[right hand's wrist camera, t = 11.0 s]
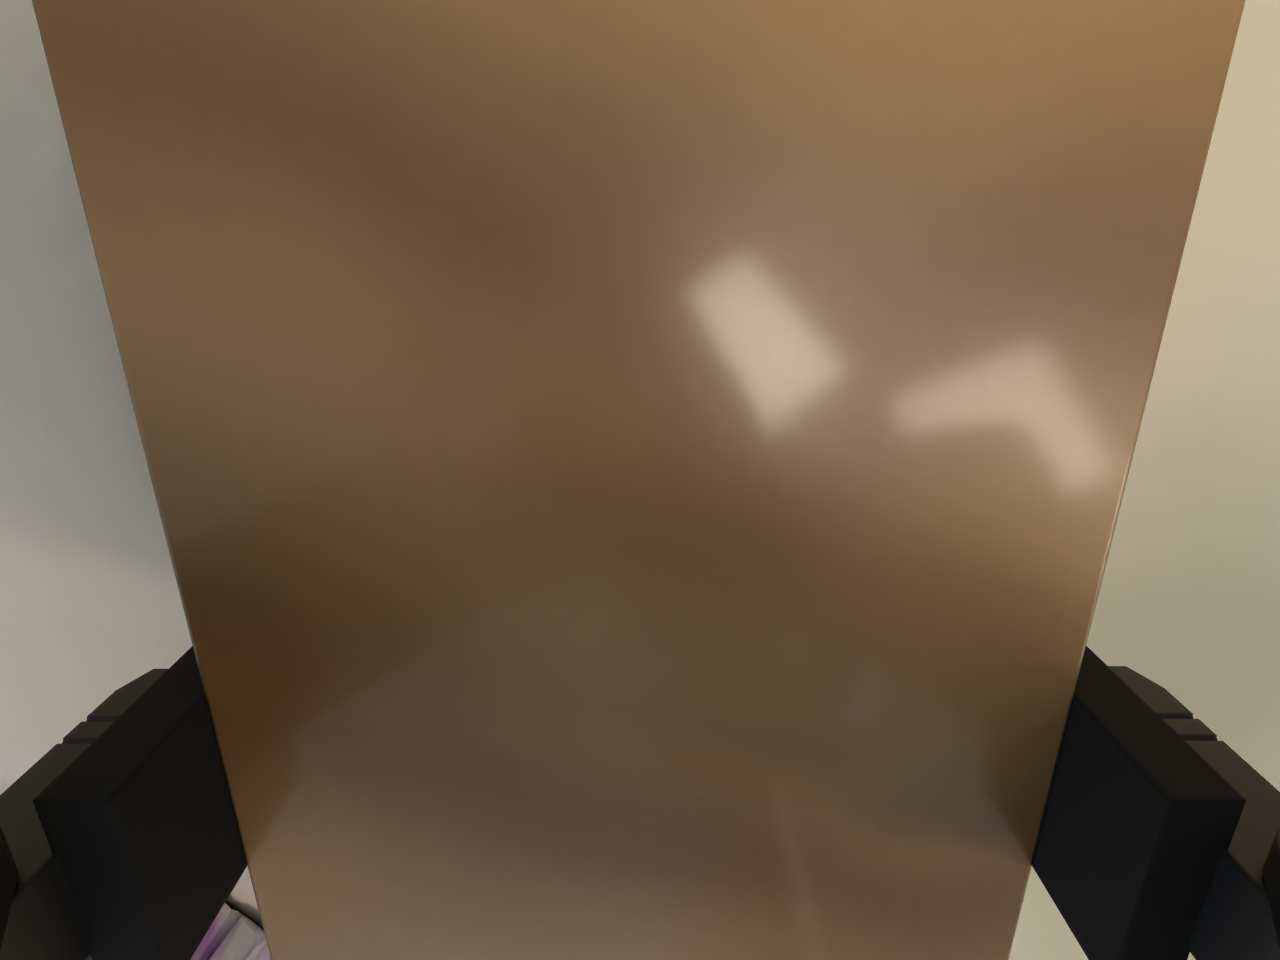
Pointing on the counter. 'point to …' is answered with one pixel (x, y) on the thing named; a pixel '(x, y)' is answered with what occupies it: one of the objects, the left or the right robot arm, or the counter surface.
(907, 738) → the cabinet
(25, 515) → the counter surface
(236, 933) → the figurine
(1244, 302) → the counter surface
